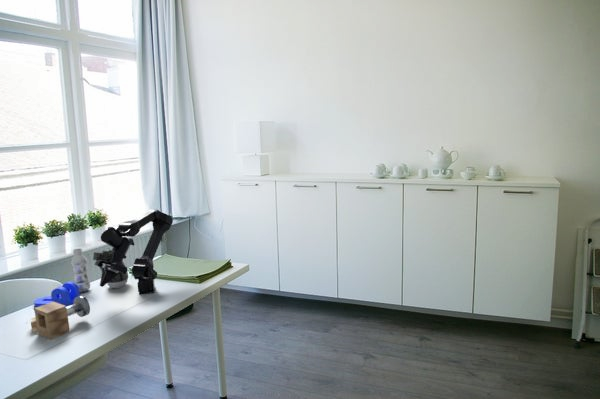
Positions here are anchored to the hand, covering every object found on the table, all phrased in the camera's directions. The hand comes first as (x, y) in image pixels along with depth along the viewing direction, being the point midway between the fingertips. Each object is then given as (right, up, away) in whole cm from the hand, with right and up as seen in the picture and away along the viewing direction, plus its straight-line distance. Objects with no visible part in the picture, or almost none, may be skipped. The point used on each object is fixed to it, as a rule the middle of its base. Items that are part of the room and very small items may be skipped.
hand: (101, 286), depth 182 cm
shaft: (-7, -11, -10) cm, 17 cm away
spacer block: (-19, -14, -11) cm, 26 cm away
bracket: (-25, -10, +13) cm, 30 cm away
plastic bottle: (-20, -8, +27) cm, 34 cm away
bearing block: (-11, -14, -15) cm, 23 cm away
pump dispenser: (-6, -6, +31) cm, 32 cm away
